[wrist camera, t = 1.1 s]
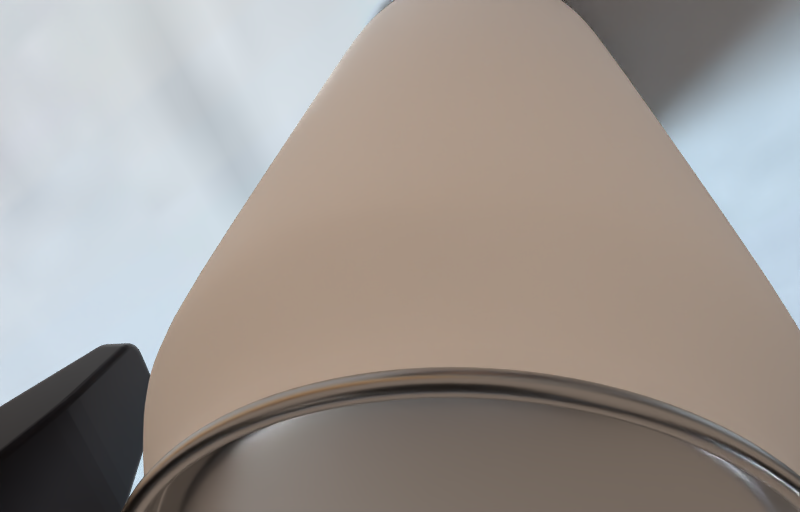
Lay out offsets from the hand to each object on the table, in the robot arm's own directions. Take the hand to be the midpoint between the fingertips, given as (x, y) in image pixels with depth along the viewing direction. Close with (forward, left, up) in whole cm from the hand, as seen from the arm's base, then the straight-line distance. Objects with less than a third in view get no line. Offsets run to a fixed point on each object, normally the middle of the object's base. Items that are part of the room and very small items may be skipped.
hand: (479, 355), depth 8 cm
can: (0, 0, -9) cm, 9 cm away
